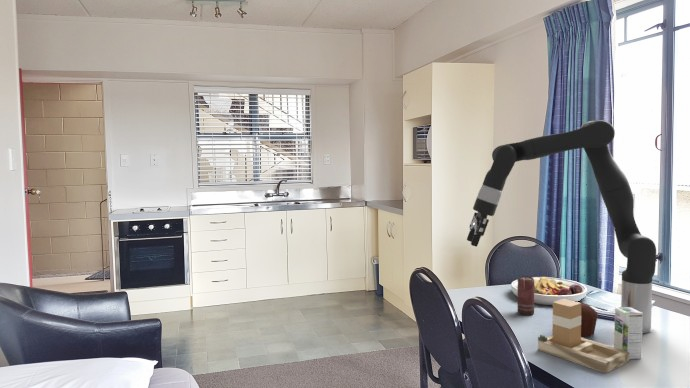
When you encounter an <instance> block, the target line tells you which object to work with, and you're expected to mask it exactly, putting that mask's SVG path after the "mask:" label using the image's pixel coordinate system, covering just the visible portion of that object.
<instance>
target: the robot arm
mask: <svg viewBox="0 0 690 388" xmlns="http://www.w3.org/2000/svg"><path fill="white" fill-rule="evenodd" d="M615 135H616V132H615V128H614V126H613V125H612V124H611V123H610V122H608V121H606V120H601V119H595V120H589V121H586V122H584V123H583V124H582V125H580V128H578V129H574V130H571V131H565V132H561V133H560V132H559V133H555V134H554V133H553V134H548V135H542V136H537V137H533V138H529V139H526V140H522V141H519V142H511V143H505V144H501V145H498V146H496V147H495V148H494V149H493V151H492V154H491V156H492V160H493V162H492V164H491V166H490V169H489V170H488V171H487V172H486V174H485V177H484V179H483V181H482V182H483V183H482V184H481V186H480V189H479V191H478V193H477V196H476V199H475V201H474V203H473V204H474V205H473V207H472V209H473V211H476V212H474V214H473V216H472V219H471V222H470V223H469V231H468V234H467V235H468V236H467V238H466V241H468V242H470V245H471V246H473V247H478V245H479V242H480V240H481V237H484V235H485V232H486V229H487V226H488V224H489V221H490V220H489V219H488V216H489V217H493V216H495V214H496V211H497V207H498V206H499V203H500V200H501V198H502V193H503V190H504V187H505V184H506V181H507V179H508V176H509V175H510V174H511V171H512V170H513V167H514V166H515V163H517V162H521V161H530V160H531V161H532V160H536V159H539V158H545V157H548V156H551V155H552V156H553V155H555V154H559V153H563V152H567V151H573V150H578V149H583V150H584V152H585V154H586V155H587V158H588V160H589V163H590V165H591V168H592V171H593V175H594V177H595V179H596V180H595V181H596V183H597V187H598V190H599V192H600V196H601V198H602V201H603V203H604V205H605V208H606V210H607V213H608V216H609V218H610V220H611V223H612V226H613V229H614V233H615V237H616V241H617V247H618V249H619V252H620V253H621V255H622V256H623V257H624V258H626V259H627V260H626V268H625V270H622V272H621V297H620V298H621V301H620V306H621V307H631V308H633V309H635V310H637V311H639V312H642V313H643V326H642V334H647V333H650V332H651V331H652V330H651V329H652V306H653V305H652V304H653V303H652V298H653V295H652V294H653V278H654V276H655V272H656V267H657V266H656V262H657V247H656V244H655V242H654V241H653V240H652V239H651V238H649V237H647V236H644V235H643V234H641V232H640V230H639V227H638V225H637V223H636V220H635V214H634V204H635V203H634V200H635V199H634V195H633V192H632V189H631V186H630V183H629V181H628V178H627V176H626V175H625V173H624V172H623V171H622V169H621V168H620V166H619V165H618V163H617V162H616V160H615V159H614V158H613V155H612V153H611V151H610V148H609V144H611V143H612V141H613V140H614V138H615Z"/></svg>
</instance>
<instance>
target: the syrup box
mask: <svg viewBox="0 0 690 388" xmlns="http://www.w3.org/2000/svg"><path fill="white" fill-rule="evenodd" d="M642 326H643V313H642V312H639V311H637V310H635V309H633V308H631V307H615V308H614V328H613V329H614V332H613V347H614V348H618V349H621V350H624V351H627V352H629V360H637V359H638V360H640V359H642V352H643V351H642V347H643V333H642Z"/></svg>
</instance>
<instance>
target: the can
mask: <svg viewBox="0 0 690 388" xmlns="http://www.w3.org/2000/svg"><path fill="white" fill-rule="evenodd" d="M517 280H518V297H517V313H518V314H519V315H521V316H525V317H526V316H527V317H529V316H533V315H534V314H535V303H534V279H533V278H532V277H531V276H519V277H518V279H517Z"/></svg>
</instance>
